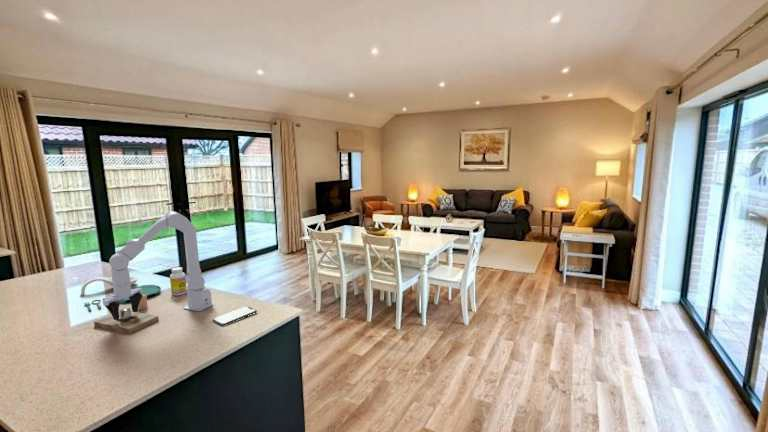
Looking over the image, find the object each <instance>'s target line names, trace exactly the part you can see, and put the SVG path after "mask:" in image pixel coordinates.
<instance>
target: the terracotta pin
mask: <svg viewBox="0 0 768 432" xmlns="http://www.w3.org/2000/svg"><path fill="white" fill-rule="evenodd" d="M147 309H149V307H148V298H147V297H146V294H142V298H141V300H140V303H139V307H138V311H144V310H147Z"/></svg>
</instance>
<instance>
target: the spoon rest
mask: <svg viewBox="0 0 768 432" xmlns="http://www.w3.org/2000/svg"><path fill="white" fill-rule="evenodd" d="M138 280H139V278H138V277H136V276H130V282H131V287H132V286H133V285H134V284H136V282H137V281H138ZM96 281H97V282H104V283H106V284H108V285H110V286H112V287H113V282H112V276H109V277H106V276H100V277H99V276H98V277H93V278H91V279H89V280H86V281H85V282H84V283H83V284H82V286H81V291H80V295H81V296H84V295H85V292H86V287H87V286H88V285H90V284H92V283H93V282H96Z"/></svg>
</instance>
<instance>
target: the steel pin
mask: <svg viewBox="0 0 768 432" xmlns="http://www.w3.org/2000/svg"><path fill="white" fill-rule="evenodd" d="M119 312H120V318H121V322H127V321H129V320H131V308H130V307H124V308H122V309H120V310H119Z"/></svg>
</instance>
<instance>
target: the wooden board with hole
mask: <svg viewBox="0 0 768 432" xmlns="http://www.w3.org/2000/svg"><path fill="white" fill-rule="evenodd" d="M130 311H131V310H130ZM159 319H160V318H159V316H158V315H154V314H149V313H143V312H139V311H138V312H133V311H131V320H129V321H127V322H121V318H120V311H119V320H114V319H113V316H112V314H110V315H107V316H105V317H103V318H100V319H97V320H95V321H93V325H94V327H96V328H100V329H105V330H108V331H109V330H110V331H115V332H120V333H122V334H123V333H125V334H129V335H131V334H132V333H136V332H137V331H140V330H142V329H144V328H146V327H148V326H150V325H152V324H155V323H157V322H159Z"/></svg>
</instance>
